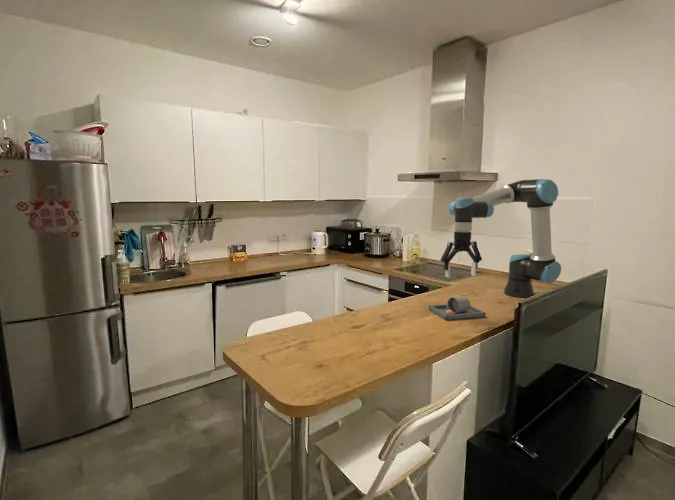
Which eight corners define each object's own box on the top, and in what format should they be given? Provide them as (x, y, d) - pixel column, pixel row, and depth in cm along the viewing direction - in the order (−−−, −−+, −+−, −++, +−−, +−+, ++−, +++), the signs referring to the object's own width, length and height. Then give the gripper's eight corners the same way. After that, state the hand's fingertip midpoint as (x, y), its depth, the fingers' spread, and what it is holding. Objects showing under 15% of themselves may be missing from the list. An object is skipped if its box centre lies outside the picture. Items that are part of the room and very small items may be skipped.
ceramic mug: (470, 313, 175) (471, 297, 174) (458, 315, 172) (458, 299, 171) (454, 307, 185) (455, 292, 184) (441, 309, 181) (442, 294, 180)
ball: (448, 316, 172) (451, 310, 172) (452, 318, 169) (455, 312, 169) (443, 313, 171) (446, 307, 171) (447, 316, 168) (450, 309, 168)
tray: (465, 307, 187) (465, 302, 186) (485, 317, 171) (485, 312, 171) (429, 309, 182) (429, 305, 182) (445, 320, 167) (446, 315, 166)
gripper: (481, 229, 178) (479, 273, 181) (434, 231, 172) (432, 275, 175) (491, 231, 171) (488, 276, 174) (442, 232, 165) (440, 279, 168)
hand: (460, 276), depth 174 cm, fingers open, 13 cm apart
